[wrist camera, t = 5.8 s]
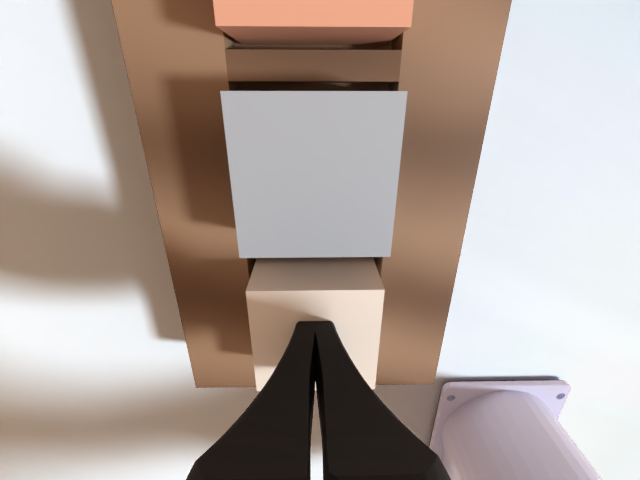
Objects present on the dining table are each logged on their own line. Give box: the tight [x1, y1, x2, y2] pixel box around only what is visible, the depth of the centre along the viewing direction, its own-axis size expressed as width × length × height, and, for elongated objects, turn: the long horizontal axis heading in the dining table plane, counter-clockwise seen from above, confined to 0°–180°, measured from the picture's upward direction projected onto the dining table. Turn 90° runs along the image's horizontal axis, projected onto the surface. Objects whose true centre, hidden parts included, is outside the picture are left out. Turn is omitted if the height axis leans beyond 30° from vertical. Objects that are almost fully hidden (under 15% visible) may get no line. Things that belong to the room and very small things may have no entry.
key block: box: [111, 0, 512, 388], centre depth 13 cm, size 22×12×3 cm, turn 0°
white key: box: [246, 257, 385, 391], centre depth 14 cm, size 5×5×4 cm
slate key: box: [220, 91, 408, 258], centre depth 11 cm, size 5×5×4 cm
